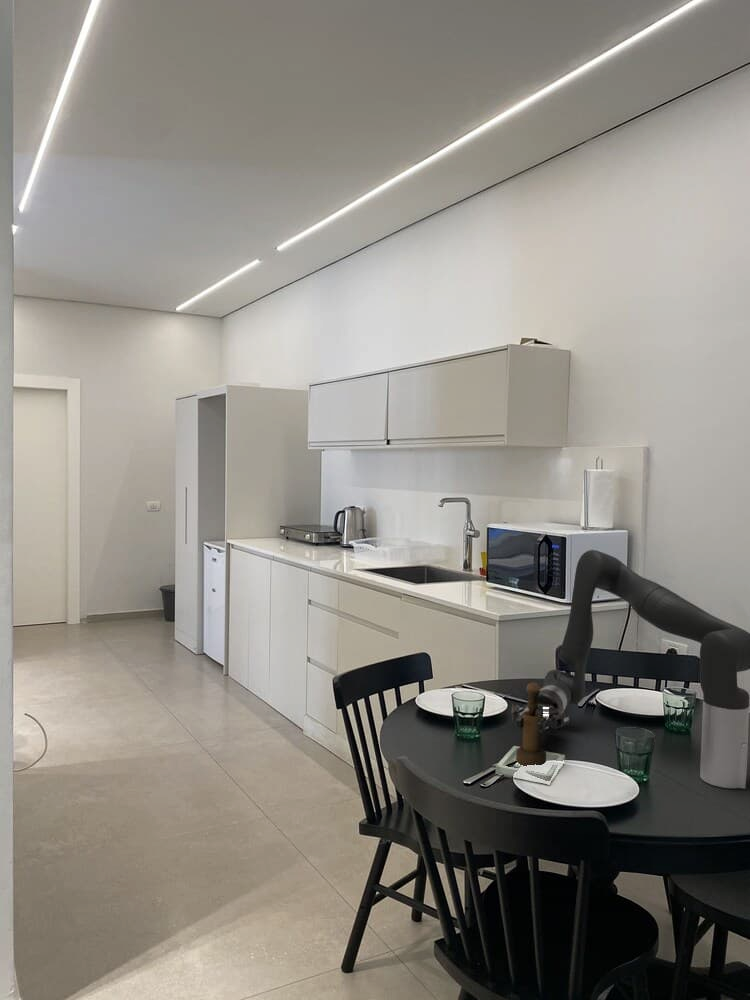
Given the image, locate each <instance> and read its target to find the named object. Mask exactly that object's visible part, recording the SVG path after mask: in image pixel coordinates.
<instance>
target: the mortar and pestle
mask: <svg viewBox="0 0 750 1000" xmlns="http://www.w3.org/2000/svg"><path fill="white" fill-rule="evenodd" d="M540 689H541V687H540V685H539V684H538V683H537V682H530V683H528V684H527V686H526V693H527V694H528V695H527V696H528V697H529V701H528V702H527V704H526V705H528V709H529V711H526V712H524V713H523V727H522V745H521V746H519V747H520V748H518V749H517V755H516V761H517V762H518V763H519V764H520V765H523V766H527V765H535V764H536V765H542V764H544V763H545V762H546V752H547V751H546V752H545V750H544V749H543V748H542V747H541V738H542V737H541V733H539V732H537V723H538V721H539V720H540V719H541V713H540V712H537V711H536V709H537V705H538V703H537V702H536V698H537V696H538V694H539V693H540Z"/></svg>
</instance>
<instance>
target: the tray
mask: <svg viewBox="0 0 750 1000" xmlns="http://www.w3.org/2000/svg"><path fill="white" fill-rule="evenodd" d="M520 747H521V746H517V745H513V746H512V747H511V749H510V750H508V752H507V753H506V754H505V755H504V756H503V758H502V759H501V760H500V761H499V762H498V763H497V764H496V765H495V775H496V774H502V775H504V776H503V777H504V778H509V779H513V778H512V776H513V774H514V773H515V772H517V771H518V770H519V769H518V768H514V767H508V766H506V765H507V763H508V762H509V761H511V760H516V755H517V749H518V748H520ZM544 751H545V750H544ZM545 752H546V760H556V761H563V760H565V761H566V755H565V754H561V753H556V752H550V751H545ZM557 766H558V765H552V767H551V768H550V770H549V771H548V772H547V774H544V773H539V772H534V771H528V770H527V771H525V772H526V773H528V774H530V775H532V776H535V777H537V778H540V779H543V780H545V781H550V780H551V778H552V776H553V774H554V772H555V770H556V768H557Z"/></svg>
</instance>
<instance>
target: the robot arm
mask: <svg viewBox="0 0 750 1000" xmlns="http://www.w3.org/2000/svg"><path fill="white" fill-rule="evenodd" d="M596 589H598V590H602V591H605V592H608V593H610V594H612V595H614V596H616V597H619V598H621V599H622V600H624V601H626V603H628V604H629V606H630V607H631V608H632V610H633V611H634V612H635V613H636V614H637V615H638V616H639V617H641V618H642V619H643V620H645V621H646V622H647V623H649V624H650V625H652V626H654V627H655V628H656V629H657V628H658V629H659V630H661V631H662V632H666V633H668V634H670V635H671V634H672V635H674V636H678V637H681V638H684V639H689V640H691V641H693V642H696V643H700V648H699V684H700V688H701V691H702V694H703V697H702V698H703V700H702V723H701V725H702V726H701V747H700V766H699V767H700V768H699V770H700V771H699V773H700V775H699V776H700V779H701V780H702V781H703V782H705V783H707V784H709V785H712V786H715V787H719V788H724V789H742V790H743V789H746V787H747V786H746V785H747V772H748V771H747V769H748V768H747V767H748V750H749V749H748V744H749V721H750V720H749V719H750V718H749V717H750V693H749V692H748V691H747V690H745V689H743V688H741V687H739V686H738V673H741V672H746V671H748V670H750V632H748V631H747V630H745V629H743V628H741V627H738V626H736V625H735V624H732V623H729V622H727V621H725V620H723V619H721V618H718V617H716V616H714V615H712V614H710V613H709V612H707V611H705V610H704V609H702V608H700V607H699V606H697V605H695V603H692V602H690V601H688V600H687V599H685V598H683V597H682V596H680V595H678V594H677V593H675V592H674V591H672V590H670V589H668V588H667V587H665V586H663V585H661V584H659V583H657V582H656V581H655V582H654V581H652V580H651V579H647V578H645V577H643V576H641V575H640V574H638V573H636V572H634V571H633V570H632V569H631V568H630V567H628V566H627V565H626V564H624V563H623V562H622V561H621V560H619V559H618V558H616V557H615V556H613V555H610V554H608V553H605V552H602V551H599V550H596V549H590V550H587V551H585V552H584V553H583V554H581V556H580V557H579V559H578V561H577V563H576V568H575V574H574V581H573V587H572V597H571V602H570V611H569V617H568V622H567V627H566V630H565V634H564V637H563V640H562V643H561V646H560V650H559V653H558V656H559V657H558V658H559V660H560V661H561V662H563V663H565V664H567V665H568V666H569V667H571V668H572V670H573V672H574V674H570V673H568V672H566V671H562V670H559V669H551V670H549V671H548V672H547V673H546V674H545V677H544V679H543V687H541V688H540V693H539V694H538V696H537V698H536V702H537V703H538V705H537V709H536V711H537V712H540V713H541V719H540V720H539V721H538V723H537V732H539V733H541V732H544V731H545V730H546V729H549V727H551V729H552V730H557V729H559V728H561V727H564V726H566V725H569V724H570V723H569V722H570V721H569V720H570V715H569V714H570V713H569V712H567V711H565V709H566V708H567V706H568V705H579V703H581V702H582V701H583V699H584V697H585V694H586V666H587V662H588V657H589V655H590V651H591V647H592V643H593V639H594V624H593V623H594V622H593V611H592V607H593V606H592V604H593V598H594V594H595V591H596ZM526 711H529V709H528V704H526V705H523V707H520V706H519V705H518V704H517V703H512V704H511V718H512V719H511V720H512V723H515V727H516V729H518V730H522V729H523V713H524V712H526Z"/></svg>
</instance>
